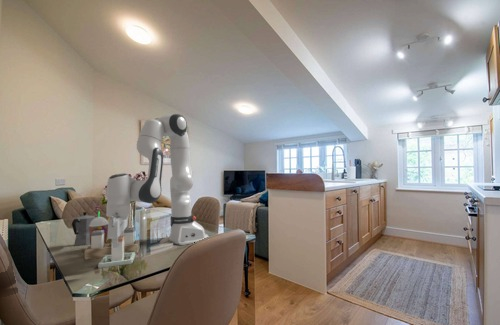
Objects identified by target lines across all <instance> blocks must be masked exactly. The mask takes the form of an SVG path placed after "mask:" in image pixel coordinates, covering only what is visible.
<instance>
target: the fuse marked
mask: <svg viewBox="0 0 500 325" xmlns="http://www.w3.org/2000/svg"><path fill="white" fill-rule="evenodd" d="M110 240H111V242H110V243H112V239H110ZM118 242H119V246H118V247H117V248H113V243H112V246H111V259H110V260H111V261H110V262H113V261H121V260H125V257H124V235H123V236H119V237H118Z"/></svg>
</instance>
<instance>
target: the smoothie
mask: <svg viewBox="0 0 500 325" xmlns="http://www.w3.org/2000/svg"><path fill="white" fill-rule="evenodd" d="M100 214H101V212H100V210H99V211H98V213H97V215H98V216H96V217H95V218H94V219H93V220H92V221H91V223H90V225H89V236H90V245H91V233H92V232H93V231H97V230H104V244H108V223H109V220H107V219H106V217H102V216H100ZM90 245H89V246H90Z"/></svg>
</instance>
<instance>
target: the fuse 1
mask: <svg viewBox="0 0 500 325" xmlns="http://www.w3.org/2000/svg"><path fill="white" fill-rule="evenodd" d="M103 247H104V230H97V231H93V232H92V233H91V249H96V248H103Z"/></svg>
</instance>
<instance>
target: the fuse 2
mask: <svg viewBox="0 0 500 325" xmlns="http://www.w3.org/2000/svg"><path fill="white" fill-rule="evenodd" d="M135 230H136V227H135V226H133V227H127V228H126V229H125V230H124V235H123V236H124V245H133V244H135V241H136V240H135V238H136V237H135Z"/></svg>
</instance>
